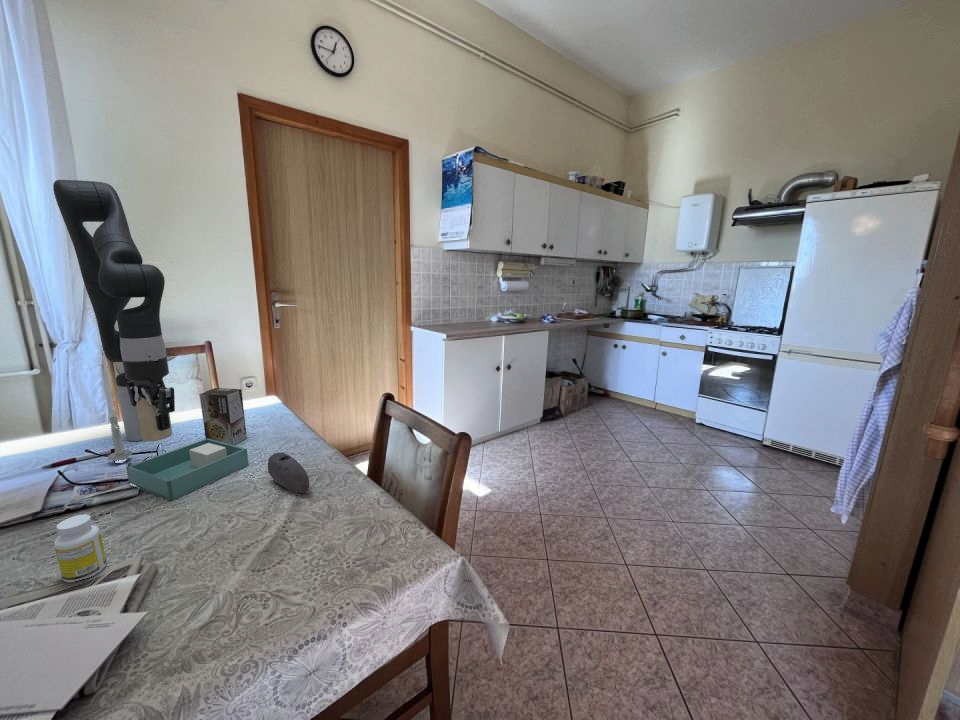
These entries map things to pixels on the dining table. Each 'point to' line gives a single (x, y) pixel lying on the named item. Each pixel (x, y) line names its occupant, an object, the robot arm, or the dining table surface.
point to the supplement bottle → (79, 548)
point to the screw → (117, 442)
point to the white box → (206, 454)
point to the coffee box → (223, 415)
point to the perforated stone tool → (288, 472)
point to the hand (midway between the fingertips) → (156, 426)
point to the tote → (184, 470)
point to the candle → (150, 423)
